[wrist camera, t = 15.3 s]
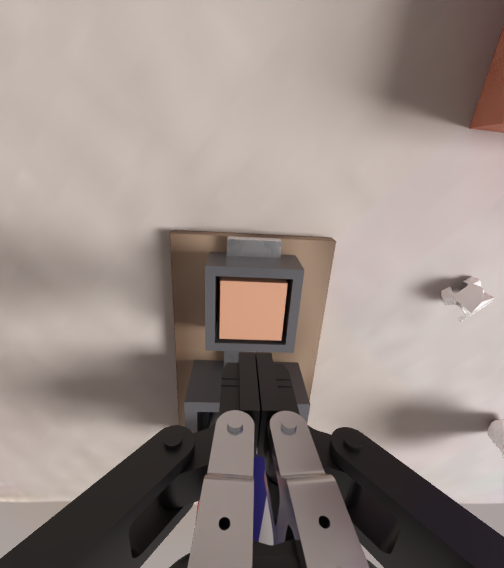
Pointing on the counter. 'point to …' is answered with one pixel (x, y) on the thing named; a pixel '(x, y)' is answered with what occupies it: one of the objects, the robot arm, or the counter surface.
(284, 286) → the tab
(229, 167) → the counter surface
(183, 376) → the mounting board
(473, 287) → the adhesive hook
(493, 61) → the house
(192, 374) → the pair of grey holders
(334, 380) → the counter surface
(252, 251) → the din rail
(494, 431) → the lightbulb
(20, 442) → the counter surface
